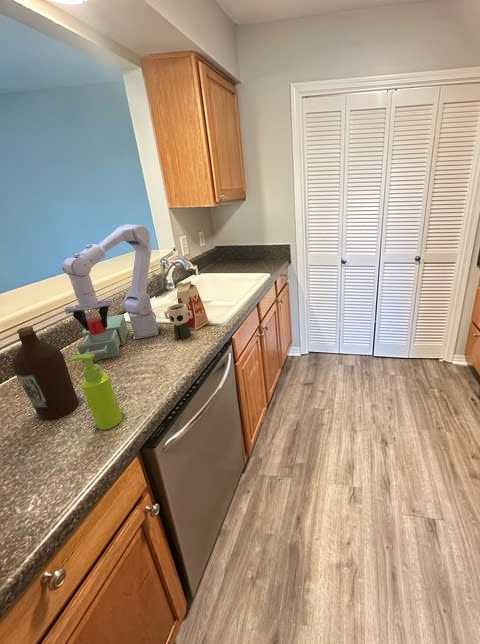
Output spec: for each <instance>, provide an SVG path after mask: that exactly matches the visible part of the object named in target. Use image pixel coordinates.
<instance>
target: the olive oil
mask: <svg viewBox="0 0 480 644" xmlns="http://www.w3.org/2000/svg"><path fill="white" fill-rule="evenodd" d="M16 333H17V334H18V338H19V340H20V343H21V346H20V347H19V349H18V351H17V352H16V353H15V354H14V357H13V359H12V370H13V372H14V374H15V376H16V378H17V380H18V381H19V383H20V385H21V386H22V388H23V390H24V392H25V394H26V395H27V398H28V399H29V401H30V403H31V404H32V407H33V408H34V410H35V412H36V414H37V416H38V417H39V419H41V420H46V421H49V420H55V419H59V418H61V417H63V416H66V415H67V414H70V413H71V412H72V411H74V410H75V409H76V408H77V407H78V405H79V398H78V396H77V393H76V390H75V387H74V384H73V381H72V378H71V374H70V372H69V369H68V365H67V362H66V359H65V355H64V353H63V352H62V351H61V350H60V349H59V348H58V347H57V346H56V345H53V344H51V343H49V342H45V341H43V340H41V339H39V338H38V335H37V332H36V331H35V330H34V327H33V326H23V327H21V328H18V329H17V330H16Z"/></svg>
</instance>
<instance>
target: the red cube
mask: <svg viewBox="0 0 480 644" xmlns="http://www.w3.org/2000/svg"><path fill="white" fill-rule="evenodd" d="M86 324H87V327H88V329H89V332H90V334H91V335H98V334H102V333H104V332H105V331H106V328H104V325H103V321H102V318H101V316H93V317H89V318H86Z"/></svg>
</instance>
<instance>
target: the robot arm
mask: <svg viewBox="0 0 480 644" xmlns="http://www.w3.org/2000/svg"><path fill="white" fill-rule="evenodd" d="M151 234H152V233H151V232H150V230H149V229H148V227H147V226H145V225H144V224H141V223H140V224H129V223H123V224H122V225H120V226H118V227H116V229H115V230H114V231H113V232H112V233H110V234H109V235H108V236H107V237H105V238H104V239H103V240H101V241H100V242H99V243H98V244H97V243H96V244H95V243H91V244H86V245H85V248H84V249H82V250H81V251H80V252H75V253H74V254H73V255H74V257H68V258H66V259H64V260H63V263H62V268H61V270H62V271H63V273H65V274H66V275H68V278H69V280H70V283H71V287H72V289H73V292H74V295H75V298H76V301H77V303H78V304H76V305H71V306H67V307H65V308H64V312H65V315H70V314H72V317H73V319H75V320H76V321H78V322H79V324H80V325H82V327H83V329H84V328H85V330H86V331H89V329H88V327H87V324H86V320H87V315H86V312H87V311H92V310H98V314H99V317H101V318H102V321H103V325H104V328H107V326H108V325H107V317H108V313H109V308H114V306H115V303H114V300H112V299H111V300H98V297H97V294H96V291H95V288H94V285H93V282H92V278H91V275H90V273H91V272H92V268H93V267H94V266H96V265H97V264H99V263H100V262H101V261H102V260H104V259H105V258H106V256H107V255H106V254H107V252H109V251H110V250H111V249H113V248H115V247H116V246H118V245H119V244H121V243H123V242H126V243H127V244H128V245H130V246H131V247H132V249H134V251H135V255H134V262H133V269H132V277H131V278H132V279H131V283H130V284H131V285H130V290H129V291H128V292H127V293H126V294H125V298H124V299H123V302H122V309H123V311H124V312H126V313H127V315H128V317H129V321H130V324H131V327H132V331H133V336H132V340H138V339H144V338H149V337H155V336H159V324H158V321H157V316H156V314H155V311H153V312H150V310H151V306H152V303H151V296H149V294H148V293H147V287H148V280H149V279H148V278H149V273H150V272H149V271H150V264H151V257H152V249H153V248H152V244H151ZM137 298H138V299H137ZM150 303H151V304H150Z"/></svg>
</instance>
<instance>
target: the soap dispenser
mask: <svg viewBox="0 0 480 644" xmlns="http://www.w3.org/2000/svg"><path fill="white" fill-rule="evenodd" d="M94 357H95V354H80V353H79V354H76V355H72V356H71V357H70V358H69V359H68V360H67V362H69V363H72V362H76V361H82V360H83V361H84V362H83V361H82V362H83V363H84V368H83V369H82V372H83V375H84V379H83V380H82V381H81V384H80V386H81V387H82V390H83V393H84V396H85V398H86V401H87V404H88V407H89V409H90V412H91V414H92V416H93V419H94V423H95V425H96V427H97V428H98V429H99V430H109V429H112V428H114V427H116V426H117V425H119V424H120V423H121V422H122V420H123V414H122V412H121V409H120V406H119V403H118V400H117V398H116V394H115V391H114V389H113V388H114V387H113V386H112V382H111V379H110V376H109V374H107V373H102V371H101V368H100V366H99V364H96V363H94V360H93V361H92V359H93V358H94Z"/></svg>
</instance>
